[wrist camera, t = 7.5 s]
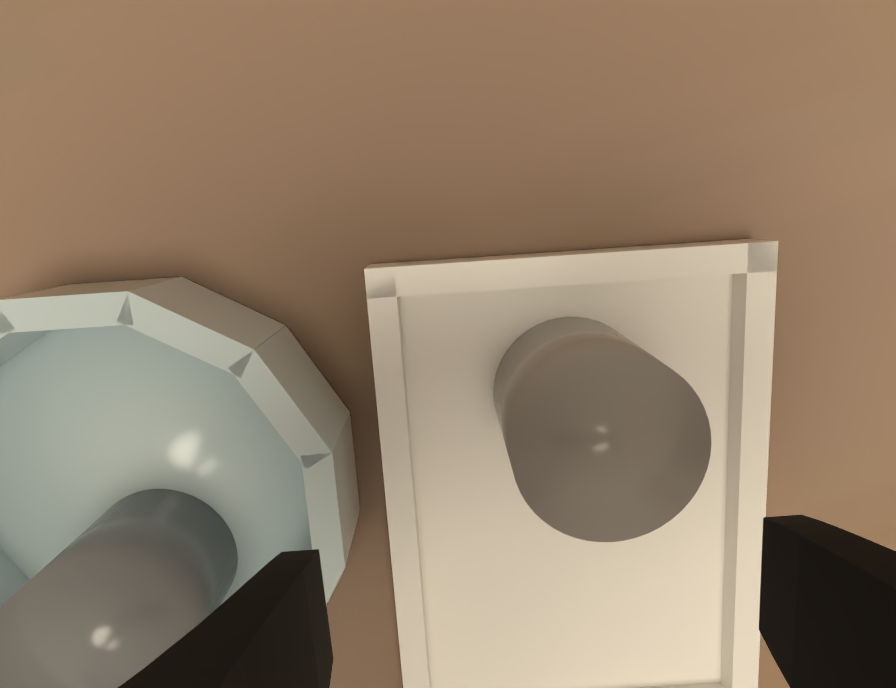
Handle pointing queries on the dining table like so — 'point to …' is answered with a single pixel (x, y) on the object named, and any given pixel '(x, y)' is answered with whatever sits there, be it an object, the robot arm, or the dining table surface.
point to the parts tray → (506, 512)
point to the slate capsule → (118, 594)
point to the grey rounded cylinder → (599, 430)
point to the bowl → (166, 423)
